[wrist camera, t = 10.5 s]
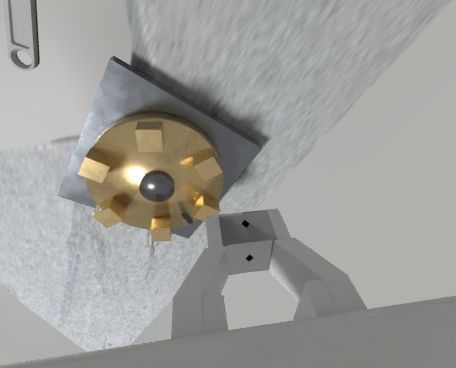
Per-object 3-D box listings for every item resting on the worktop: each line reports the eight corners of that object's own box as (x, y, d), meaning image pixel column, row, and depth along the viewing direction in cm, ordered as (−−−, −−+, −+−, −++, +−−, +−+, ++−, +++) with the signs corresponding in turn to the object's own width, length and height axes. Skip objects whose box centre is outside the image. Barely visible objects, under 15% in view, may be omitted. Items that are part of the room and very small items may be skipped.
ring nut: (58, 153, 36) (41, 175, 31) (179, 86, 32) (178, 100, 28) (145, 232, 47) (141, 256, 43) (240, 189, 44) (246, 210, 40)
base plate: (113, 55, 31) (109, 59, 29) (258, 142, 42) (262, 148, 40) (62, 188, 42) (57, 196, 40) (188, 231, 52) (188, 239, 50)
